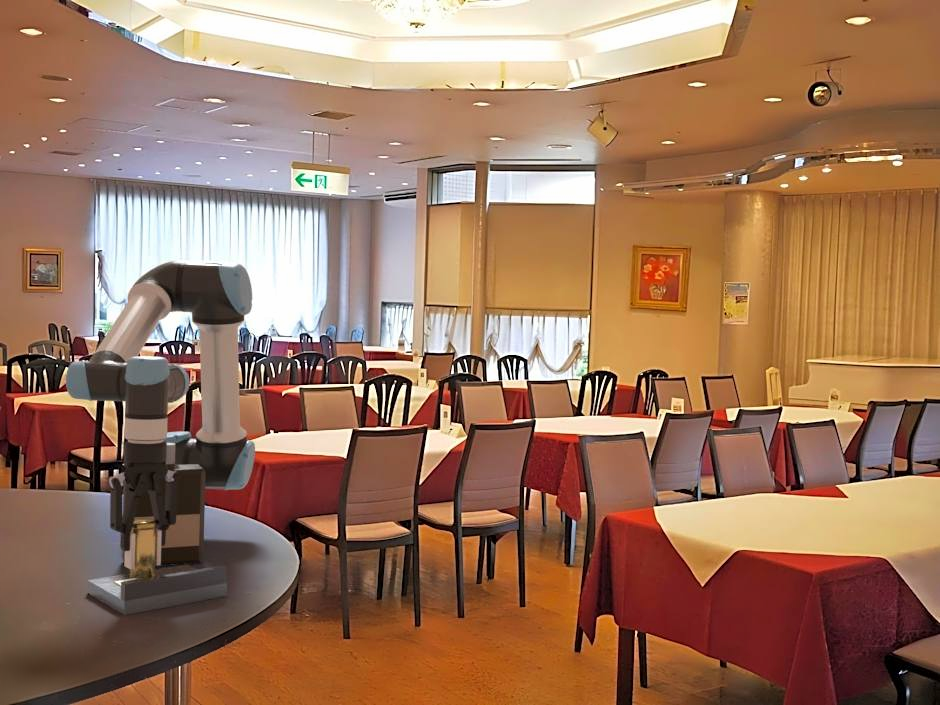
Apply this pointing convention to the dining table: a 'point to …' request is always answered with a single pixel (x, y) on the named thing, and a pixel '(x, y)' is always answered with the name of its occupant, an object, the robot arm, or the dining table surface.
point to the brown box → (179, 513)
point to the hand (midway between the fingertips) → (142, 565)
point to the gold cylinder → (144, 549)
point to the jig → (160, 588)
